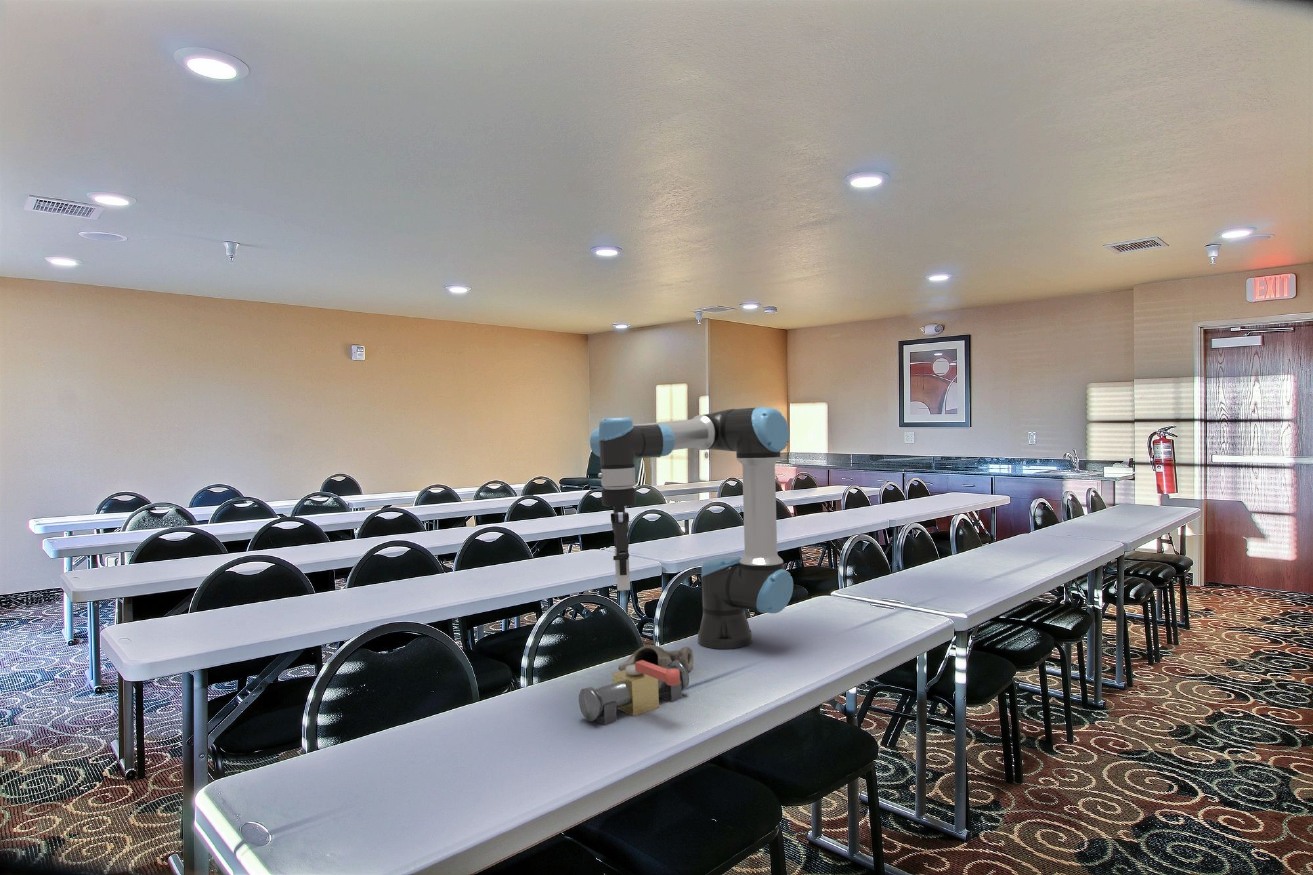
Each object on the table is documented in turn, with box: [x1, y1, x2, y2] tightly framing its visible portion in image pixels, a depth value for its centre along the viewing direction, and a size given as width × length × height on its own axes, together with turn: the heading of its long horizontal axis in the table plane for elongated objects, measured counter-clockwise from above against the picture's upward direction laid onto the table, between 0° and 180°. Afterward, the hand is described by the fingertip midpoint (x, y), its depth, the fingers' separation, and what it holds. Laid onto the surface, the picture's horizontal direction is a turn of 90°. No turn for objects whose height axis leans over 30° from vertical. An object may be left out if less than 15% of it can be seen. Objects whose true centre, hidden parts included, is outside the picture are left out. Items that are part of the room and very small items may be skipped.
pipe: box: [617, 644, 694, 673], centre depth 183 cm, size 16×9×15 cm
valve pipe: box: [578, 660, 690, 726], centre depth 163 cm, size 25×7×8 cm, turn 129°
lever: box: [626, 660, 680, 686], centre depth 158 cm, size 16×4×3 cm, turn 39°
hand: (622, 583), depth 165 cm, fingers open, 13 cm apart
